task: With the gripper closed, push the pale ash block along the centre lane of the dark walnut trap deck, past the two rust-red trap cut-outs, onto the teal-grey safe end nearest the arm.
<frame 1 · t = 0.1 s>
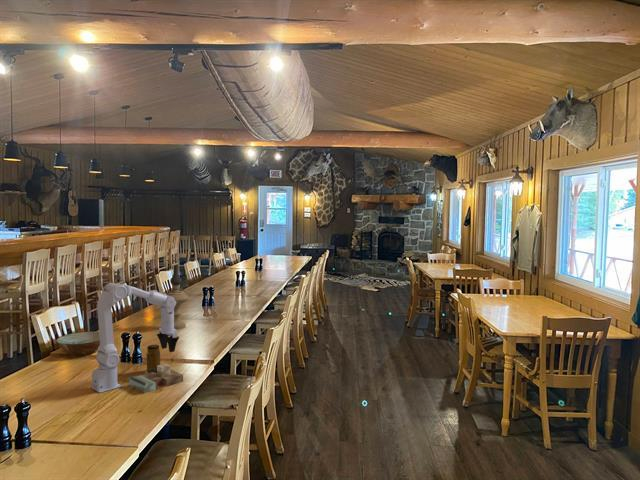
hand: (168, 350, 224), 10 cm above the table, tool pointing down, fingers open, 7 cm apart
block: (163, 374, 211), point 3 cm above the table, touching trap deck
condiment: (155, 371, 224), on the table
trap deck: (156, 383, 209), on the table
oil lamp: (176, 327, 307), on the table
bowl: (83, 352, 254), on the table
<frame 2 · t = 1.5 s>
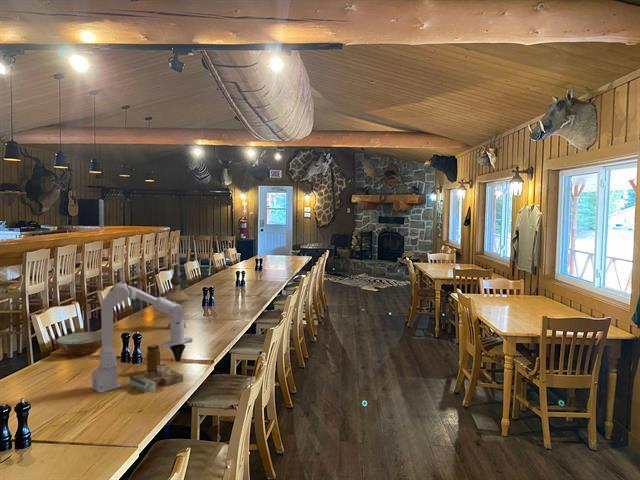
hand: (177, 361, 216), 7 cm above the table, tool pointing down, fingers closed
nothing on the table moved.
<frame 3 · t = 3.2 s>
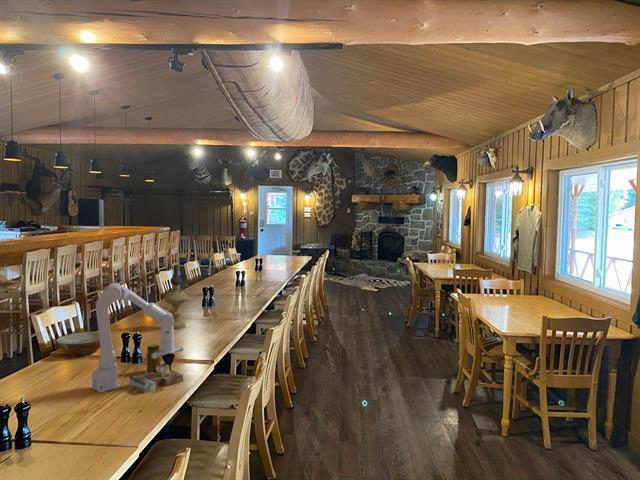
hand: (168, 370, 213), 4 cm above the table, tool pointing down, fingers closed, pressing on block
block: (163, 374, 211), point 3 cm above the table, tilted 5°, touching gripper, trap deck
everything else where it was.
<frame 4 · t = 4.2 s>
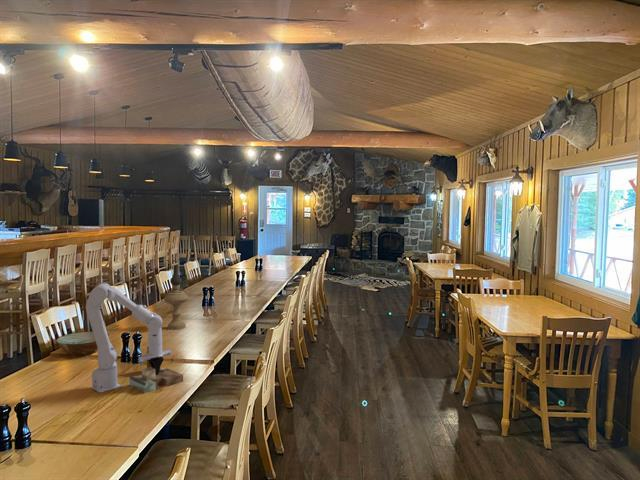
hand: (156, 374, 208), 4 cm above the table, tool pointing down, fingers closed
block: (148, 378, 206), point 3 cm above the table, touching gripper
everything else where it was.
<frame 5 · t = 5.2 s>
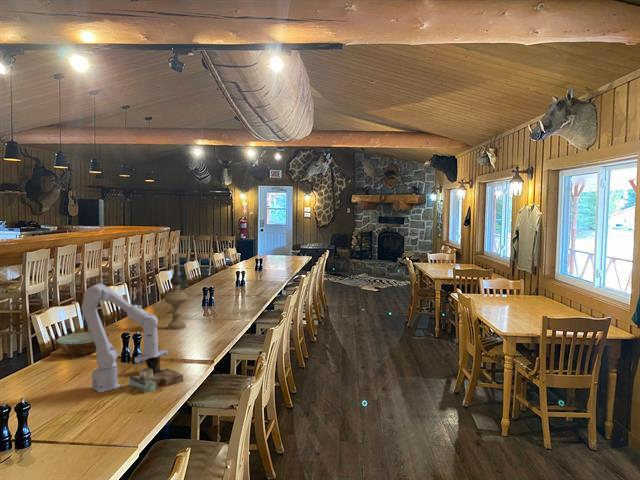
hand: (152, 374, 207), 4 cm above the table, tool pointing down, fingers closed, pressing on block
block: (147, 378, 205), point 3 cm above the table, tilted 7°, touching gripper, trap deck
everything else where it was.
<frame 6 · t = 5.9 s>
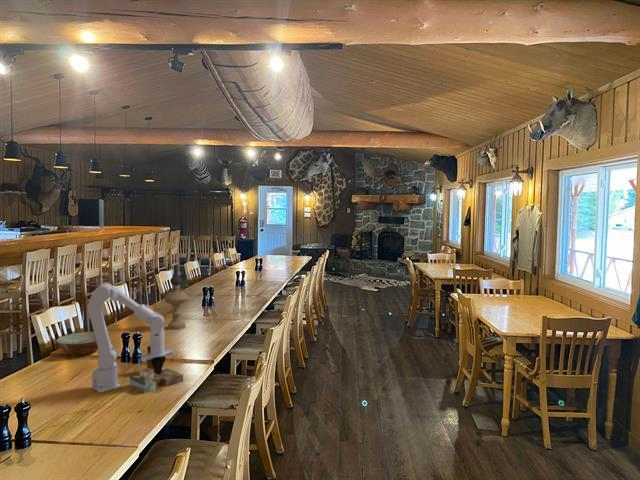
hand: (158, 373, 209), 4 cm above the table, tool pointing down, fingers closed
block: (146, 379, 205), point 3 cm above the table, touching trap deck
everything else where it was.
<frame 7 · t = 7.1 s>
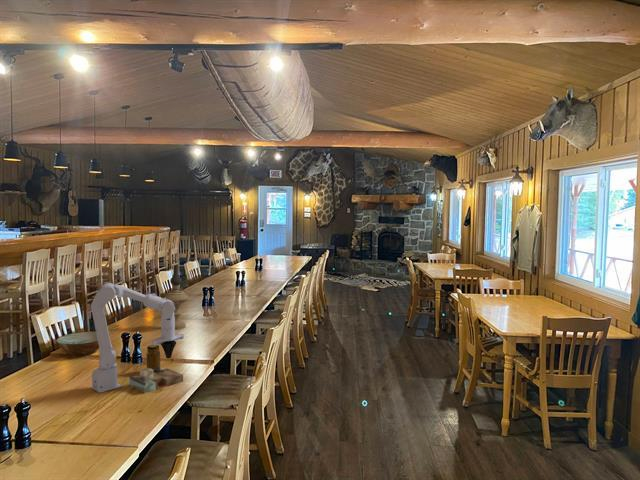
hand: (168, 357, 212), 10 cm above the table, tool pointing down, fingers closed
nothing on the table moved.
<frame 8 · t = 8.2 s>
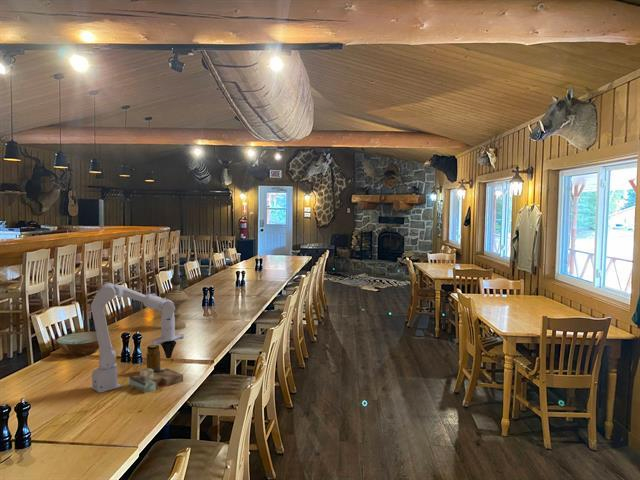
hand: (168, 357, 212), 10 cm above the table, tool pointing down, fingers closed
nothing on the table moved.
at the end: block 1.4 cm from the target spot, point 3.0 cm above the table; block tilted 0° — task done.
